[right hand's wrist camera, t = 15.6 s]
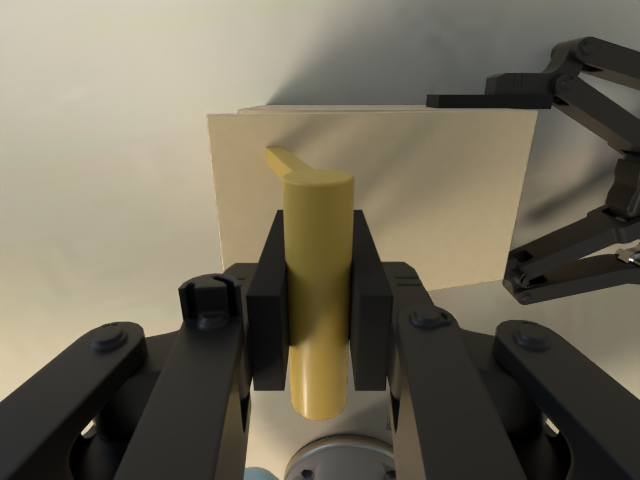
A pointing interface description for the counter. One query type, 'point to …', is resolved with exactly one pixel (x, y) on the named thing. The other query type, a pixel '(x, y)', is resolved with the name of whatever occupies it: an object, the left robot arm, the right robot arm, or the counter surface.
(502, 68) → the counter surface
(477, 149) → the lid
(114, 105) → the counter surface
